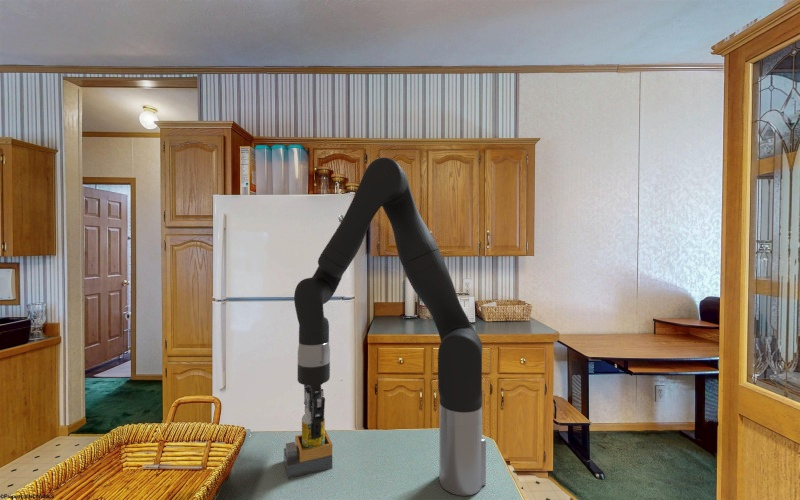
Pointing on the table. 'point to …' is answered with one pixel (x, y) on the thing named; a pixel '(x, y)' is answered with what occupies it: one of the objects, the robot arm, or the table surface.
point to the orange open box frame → (307, 458)
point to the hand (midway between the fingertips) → (313, 431)
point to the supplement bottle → (306, 431)
